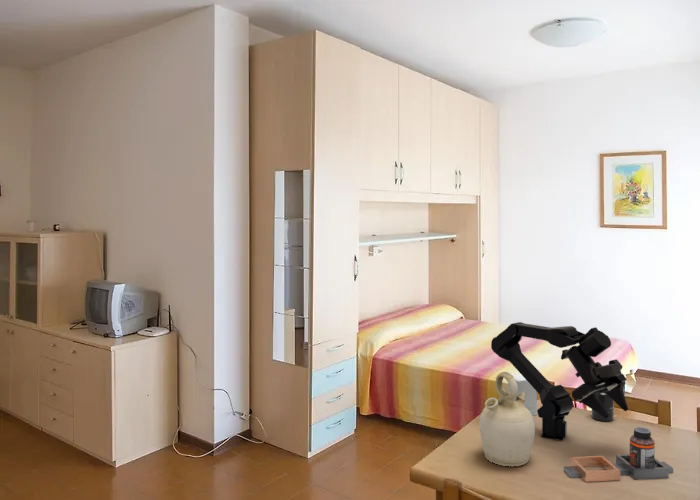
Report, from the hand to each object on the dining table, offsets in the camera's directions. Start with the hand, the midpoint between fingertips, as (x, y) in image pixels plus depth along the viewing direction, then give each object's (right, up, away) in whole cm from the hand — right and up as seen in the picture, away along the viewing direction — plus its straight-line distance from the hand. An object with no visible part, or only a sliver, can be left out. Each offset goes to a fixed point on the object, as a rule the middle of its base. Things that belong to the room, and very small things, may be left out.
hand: (617, 414), depth 159 cm
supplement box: (-15, -11, +39) cm, 43 cm away
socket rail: (-3, -14, -6) cm, 15 cm away
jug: (-30, -14, +4) cm, 33 cm away
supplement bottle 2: (+4, -14, -6) cm, 15 cm away
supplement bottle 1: (+10, -11, +32) cm, 35 cm away
